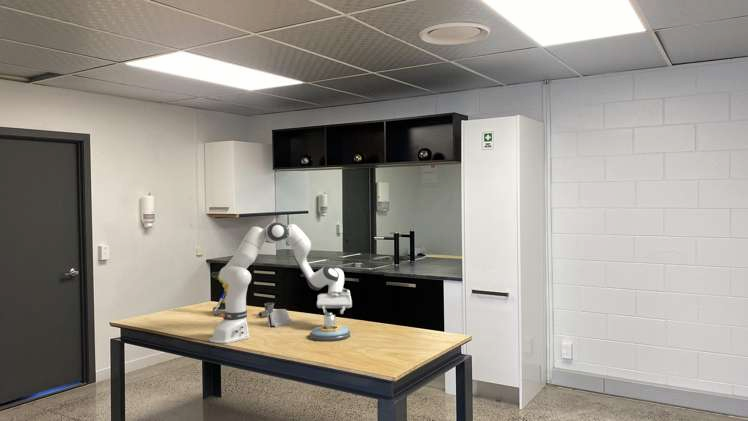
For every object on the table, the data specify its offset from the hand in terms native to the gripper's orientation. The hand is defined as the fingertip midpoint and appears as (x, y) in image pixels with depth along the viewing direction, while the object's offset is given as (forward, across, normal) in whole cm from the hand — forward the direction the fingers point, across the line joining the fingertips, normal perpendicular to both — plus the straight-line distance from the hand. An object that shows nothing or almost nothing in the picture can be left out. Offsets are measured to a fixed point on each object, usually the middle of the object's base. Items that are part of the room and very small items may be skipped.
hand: (333, 313), depth 312 cm
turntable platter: (+14, 0, -3) cm, 15 cm away
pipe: (-20, -50, +35) cm, 64 cm away
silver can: (+13, 0, -4) cm, 14 cm away
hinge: (-5, -36, +20) cm, 41 cm away
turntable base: (+16, 0, -2) cm, 16 cm away
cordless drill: (-28, -81, +43) cm, 96 cm away
